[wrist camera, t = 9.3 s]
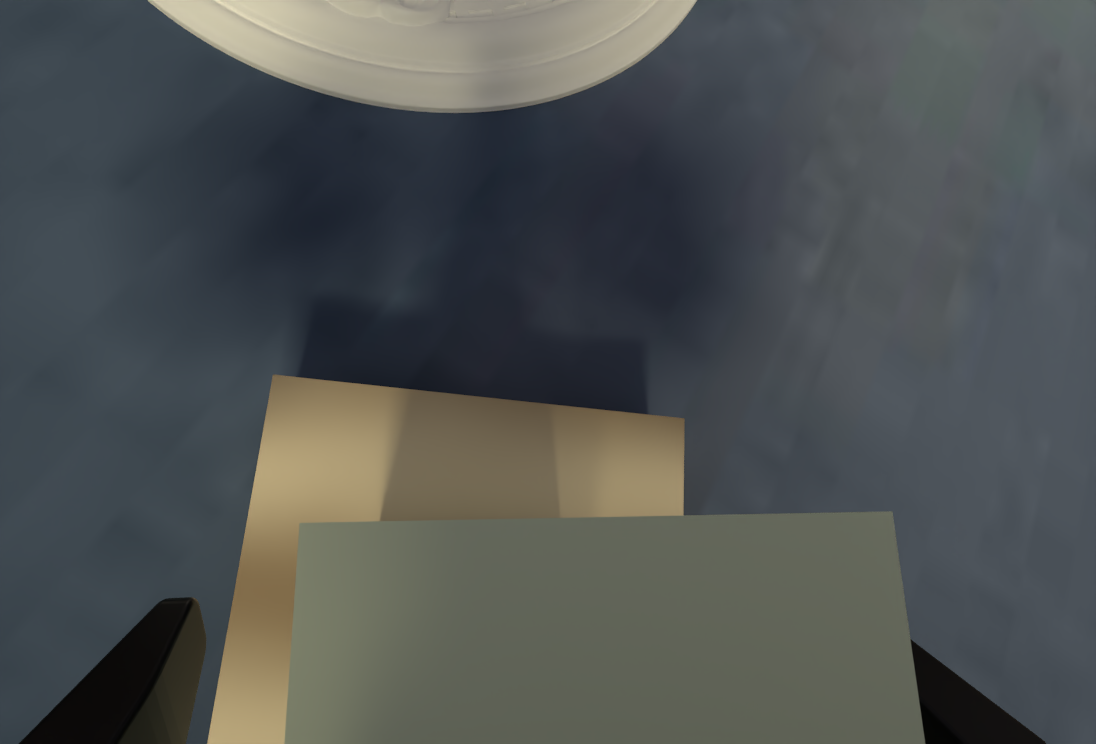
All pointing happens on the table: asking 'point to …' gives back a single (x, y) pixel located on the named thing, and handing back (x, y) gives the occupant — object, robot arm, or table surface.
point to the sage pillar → (603, 632)
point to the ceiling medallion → (435, 46)
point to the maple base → (414, 497)
